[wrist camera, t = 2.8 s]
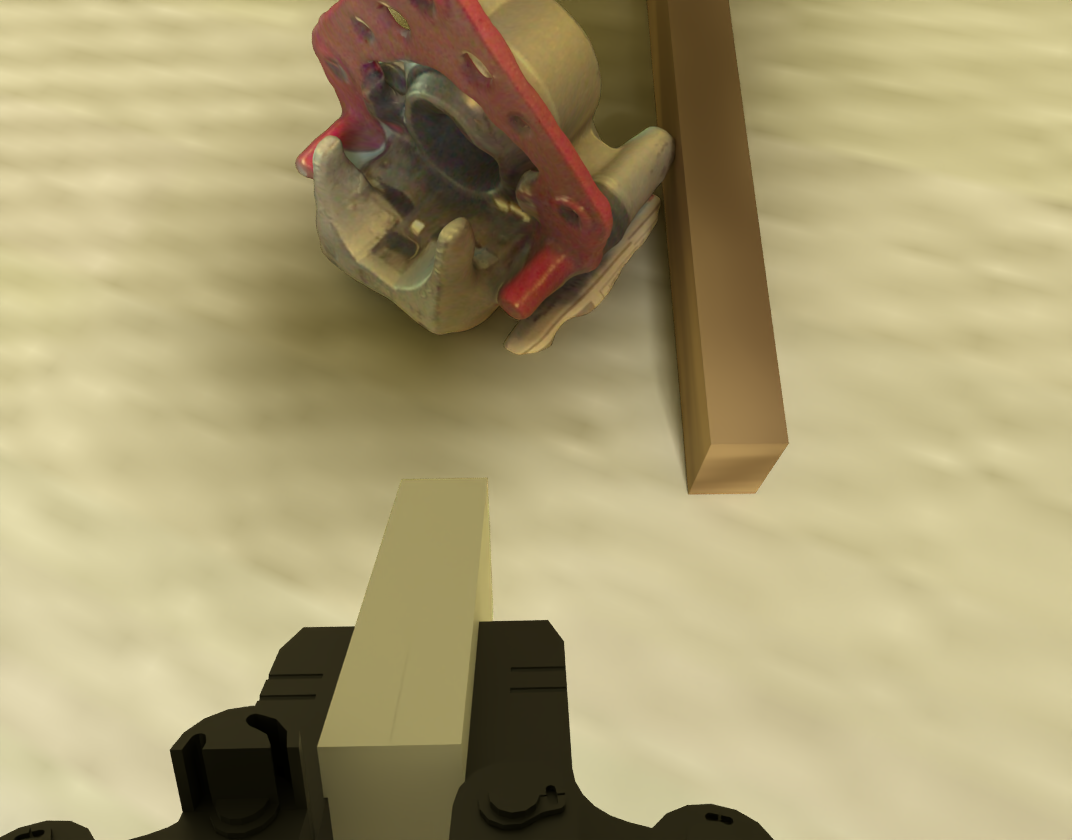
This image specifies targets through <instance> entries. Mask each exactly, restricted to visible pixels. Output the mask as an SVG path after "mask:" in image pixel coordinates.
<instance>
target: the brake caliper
mask: <svg viewBox="0 0 1072 840" xmlns="http://www.w3.org/2000/svg"><path fill="white" fill-rule="evenodd" d="M387 7H389V8H392V9H394V10H396V11H397V12H398V13H400V14H401V15H402V16H403V17H404V18H405V20H406V21H407V23H408V25H409V27H410V30H407V29H405V28H403V27H402V26H400V25H399V24H398V23H397V22H396V21H395V19H394V18H393V16H392V15H391V13H390V11H389V10H388V8H387ZM312 44H313V49H314V51H315V54H316V56H317V57H318V59H319V61H320V63H321V65H322V67H323V69H324V72H325V74H326V76H327V78H328V80H329V82H330V83H331V85H332V86H333V87H334V89H335V92H336V94H337V96H338V99H339V101H340V104H341V107H342V115H341V117H340V118H339V119H338V120H337V121H336V122H334V123H333V124H332V125H331V126H330V127H329V128H328V129H327V130H326V131H325V132H324V133H322V134H321V135H320V136H319V137H317V138H316V139H315V140H314V141H313V142H312V143H311V144H310V145H309V146H308V147H307V148H306V149H305V150H304V151H303V152H302V153H301V154H300V155H299V156H298V157H297V159H296V163H295V164H296V168H297V170H298V171H299V173H300V174H302V175H303V176H305V177H308V178H311V179H314V196H315V200H316V206H317V215H316V227H317V232H318V235H319V238H320V246H321V249H322V252H323V253H324V254H325V255H326V257H327V258H328V259H329V260H330V261H331V262H333V263H334V264H335V265H336V266H337V267H339V268H340V269H341V270H343V271H344V272H345V273H346V274H348V275H349V276H350V277H352V278H353V279H355V280H356V281H358V282H360V283H362V284H363V285H365V286H366V287H368V288H370V289H372V290H374V291H375V292H377V293H379V294H381V295H383V296H385V297H386V298H388V299H389V300H391V301H392V302H394V303H395V304H396V305H397V306H398V307H399V308H401V309H402V310H403V311H404V312H405V313H406V314H408V315H409V316H410V317H411V318H412V319H413V320H414V321H416V322H417V323H418V324H419V325H421V326H422V327H424V328H425V329H427V330H428V331H430V332H432V333H435V334H438V335H441V334H446V333H450V332H461V331H466V330H469V329H471V328H473V327H475V326H477V325H479V324H481V323H482V322H484V321H485V320H486V319H487V318H488V317H489V316H491V315H492V314H493V312H494V311H495V310H496V309H497V308H498V307H499V306H500V307H501V308H502V309H503V310H504V311H506V312H507V313H508V315H510V316H511V317H513V318H515V319H519V322H518V323H517V325H516V326H515V328H514V329H513V330H512V332H511V333H510V334H509V336H508V337H507V339H506V340H505V342H504V344H503V345H504V347H505V348H506V349H507V350H509V351H511V352H513V353H515V354H518V355H521V354H526V353H534V352H539V351H541V350H544V349H546V348H548V347H549V346H551V345H552V342H553V339H554V336H555V333H556V331H557V330H558V328H559V327H560V326H561V325H562V324H563V323H564V322H565V321H567V320H569V319H570V318H574V317H577V316H581V315H585V314H588V313H589V312H591V311H592V310H593V309H595V308H596V307H597V306H598V305H599V303H600V302H601V301H602V300H603V299H604V298H605V296H606V295H607V294H608V293H609V291H610V290H611V288H612V286H613V284H614V283H615V281H616V280H617V278H618V277H619V275H620V271H621V268H622V267H623V266H624V265H625V264H626V263H627V262H628V260H629V259H630V258H631V256H632V254H633V253H634V252H635V251H636V250H637V249H638V248H640V247H641V246H642V244H643V243H644V242H645V240H646V239H647V238H648V236H649V234H650V232H651V231H652V229H653V227H654V226H655V225H656V223H657V221H658V211H659V208H660V206H661V200H660V199H659V197H657V196H655V195H652V193H653V192H654V191H655V189H656V188H657V187H658V186H659V185H660V183H661V182H662V181H663V180H664V178H665V176H666V174H667V172H668V170H669V169H670V167H671V165H672V162H673V161H674V158H675V140H674V138H673V137H672V136H671V135H670V134H669V133H668V132H667V131H665V130H663V129H661V128H659V127H654V126H653V127H648V128H647V129H645V130H643V131H642V132H641V133H639V134H638V135H636V136H635V137H633V138H631V139H630V140H629V141H627V142H626V143H625V144H623V145H622V146H621V147H618V148H612V147H610V146H608V145H607V144H605V143H604V142H602V141H601V138H600V136H599V135H598V132H597V130H596V128H595V125H594V122H593V115H594V113H595V111H596V108H597V106H598V103H599V99H600V94H601V75H600V70H599V65H598V61H597V58H596V55H595V52H594V49H593V47H592V44H591V42H590V40H589V38H588V36H587V35H586V33H585V32H584V30H583V29H582V28H581V26H580V25H579V24H578V22H577V21H576V20H575V19H574V18H573V17H572V16H571V15H570V14H569V13H568V12H567V11H566V10H565V9H564V8H563V7H562V6H561V5H560V4H559V3H558V2H556V1H555V0H339V1H338V2H337V3H335V4H334V5H333V6H332V7H331V8H330V9H329V10H328V11H327V12H325V13H323V14H322V15H321V16H320V18H319V21H318V23H317V25H316V26H315V28H314V29H313V31H312ZM378 61H380V62H378Z"/></svg>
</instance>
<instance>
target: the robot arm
mask: <svg viewBox="0 0 1072 840" xmlns="http://www.w3.org/2000/svg"><path fill="white" fill-rule="evenodd" d="M492 620H493V598H492V573H491V549H490V524H489V499H488V478H448V479H401V483H400V486H399V489H398V492H397V495H396V498H395V502H394V505H393V508H392V511H391V514H390V517H389V521H388V524H387V527H386V530H385V533H384V536H383V540H382V543H381V546H380V549H379V552H378V555H377V559H376V562H375V565H374V568H373V571H372V574H371V578H370V581H369V584H368V587H367V590H366V593H365V597H364V600H363V603H362V606H361V609H360V612H359V616H358V619H357V622H356V625H355V626H352V627H304V628H302V629H301V630H300V631H299V632H298V633H297V634H296V635H295V636H294V637H293V638H292V639H291V640H289V641H288V642H287V643H286V644H285V645H284V646H283V647H282V648H281V649H280V650H279V652H278V654H277V657H276V659H275V661H274V664H273V666H272V668H271V671H270V673H269V679H268V680H266V682H265V684H264V687H263V689H262V691H261V694H260V700H259V701H257V703H256V705H255V706H248V707H241V708H234V709H228V710H225V711H223V712H220V713H218V714H215V715H212V716H210V717H207V718H205V719H203V720H202V721H200V722H199V723H197V724H196V725H194V726H193V727H191V728H190V729H188V730H187V731H186V732H184V733H183V734H182V735H181V737H180V738H179V739H178V740H177V742H176V743H175V744H174V745H173V747H172V748H171V749H170V754H171V758H172V763H173V768H174V773H175V777H176V782H177V787H178V792H179V796H180V801H181V806H182V811H183V813H182V815H181V817H180V819H179V821H178V822H177V823H175V824H173V825H171V826H170V827H168V828H165V829H162V830H159V831H156V832H154V833H151V834H148V835H145V836H141V837H137V838H133V839H130V840H773V838H772V837H771V836H770V835H769V834H768V833H767V832H766V831H765V830H764V829H763V827H762V826H761V825H760V824H759V823H758V822H756V821H754V820H753V819H751V818H749V817H747V816H746V815H744V814H742V813H740V812H739V811H737V810H734V809H730V808H726V807H722V806H718V805H714V804H700V805H686V806H684V807H681V808H679V809H677V810H674V811H672V812H669V813H667V814H666V815H665V816H664V817H663V818H662V819H661V820H660V821H659V822H658V823H657V824H656V825H655V826H654V827H653V828H650V827H646V826H642V825H638V824H634V823H630V822H627V821H624V820H621V819H618V818H616V817H613V816H610V815H608V814H607V813H605V812H604V811H602V810H600V809H599V808H597V807H595V806H594V805H593V804H592V803H591V802H590V801H589V800H588V799H587V798H586V797H585V796H584V795H583V794H582V792H581V791H580V789H579V787H578V785H577V784H576V782H575V778H574V774H573V770H572V758H571V743H570V728H569V712H568V697H567V682H566V668H565V651H564V641H563V640H562V638H561V637H560V636H559V634H558V633H557V632H556V630H555V629H554V628H553V626H552V625H551V624H550V622H549V621H548V620H533V621H492ZM0 840H94V838H93V836H92V834H91V833H90V831H89V829H88V828H85V827H83V826H81V825H79V824H76V823H74V822H72V821H43V822H40V823H36V824H32V825H28V826H24V827H20V828H18V829H16V830H14V831H12V832H10V833H8V834H6V835H4V836H2V837H0Z"/></svg>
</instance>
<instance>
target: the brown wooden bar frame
mask: <svg viewBox="0 0 1072 840" xmlns="http://www.w3.org/2000/svg"><path fill="white" fill-rule="evenodd" d="M647 10H648V22H649V34H650V46H651V58H652V69H653V81H654V93H655V105H656V117H657V127H659V128H661V129H663V130H665V131H667V132H668V133H669V134H670V135H671V136H672V137H673V138H674V140H675V158H674V161H673V162H672V165H671V167H670V169H669V170H668V172H667V174H666V176H665V178H664V180H663V181H662V188H663V199H664V211H665V223H666V235H667V247H668V259H669V270H670V282H671V294H672V306H673V318H674V329H675V341H676V353H677V365H678V377H679V389H680V400H681V412H682V424H683V436H684V448H685V460H686V471H687V483H688V494H751V493H756V491H757V490H758V488H759V487H760V486H761V484H762V483H763V481H764V480H765V478H766V477H767V475H768V474H769V472H770V471H771V469H772V468H773V466H774V465H775V463H776V462H777V460H778V459H779V457H780V456H781V454H782V453H783V451H784V450H785V448H786V447H787V445H788V444H789V442H788V435H787V428H786V420H785V413H784V405H783V398H782V391H781V383H780V376H779V369H778V361H777V354H776V347H775V339H774V332H773V325H772V317H771V310H770V303H769V295H768V288H767V280H766V273H765V266H764V258H763V251H762V244H761V236H760V229H759V222H758V214H757V207H756V200H755V192H754V185H753V178H752V170H751V163H750V156H749V148H748V141H747V133H746V126H745V119H744V111H743V104H742V97H741V89H740V82H739V75H738V67H737V60H736V53H735V45H734V38H733V31H732V23H731V16H730V8H729V1H728V0H647Z"/></svg>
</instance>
